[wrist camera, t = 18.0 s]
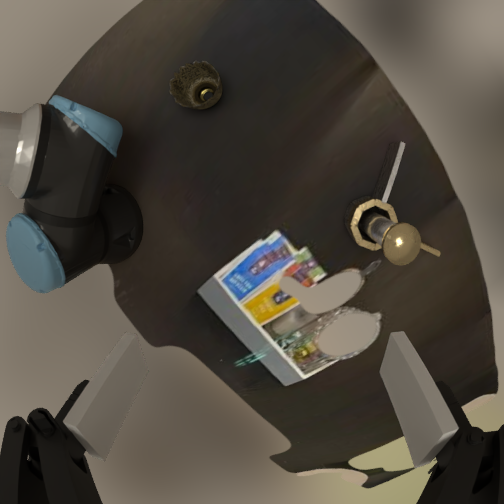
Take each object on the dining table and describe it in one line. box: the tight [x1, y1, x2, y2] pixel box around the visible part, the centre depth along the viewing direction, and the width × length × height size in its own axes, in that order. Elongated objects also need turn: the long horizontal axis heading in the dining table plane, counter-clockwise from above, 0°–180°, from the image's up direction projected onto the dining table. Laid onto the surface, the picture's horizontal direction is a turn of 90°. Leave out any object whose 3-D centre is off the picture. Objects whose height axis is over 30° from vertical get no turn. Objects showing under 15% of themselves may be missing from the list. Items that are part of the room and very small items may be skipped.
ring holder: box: [344, 141, 441, 256], centre depth 39 cm, size 14×20×5 cm
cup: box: [169, 61, 222, 109], centre depth 36 cm, size 8×7×8 cm
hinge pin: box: [357, 209, 421, 265], centre depth 35 cm, size 5×5×16 cm
